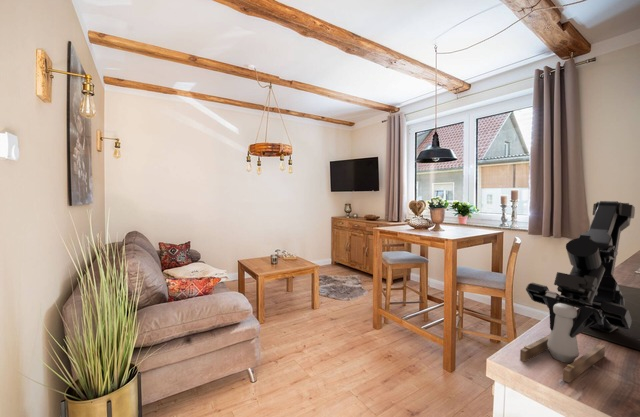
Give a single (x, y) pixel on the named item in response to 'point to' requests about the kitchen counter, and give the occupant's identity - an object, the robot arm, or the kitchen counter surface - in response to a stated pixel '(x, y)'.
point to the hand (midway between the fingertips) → (560, 333)
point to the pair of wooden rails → (571, 369)
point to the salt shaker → (563, 334)
